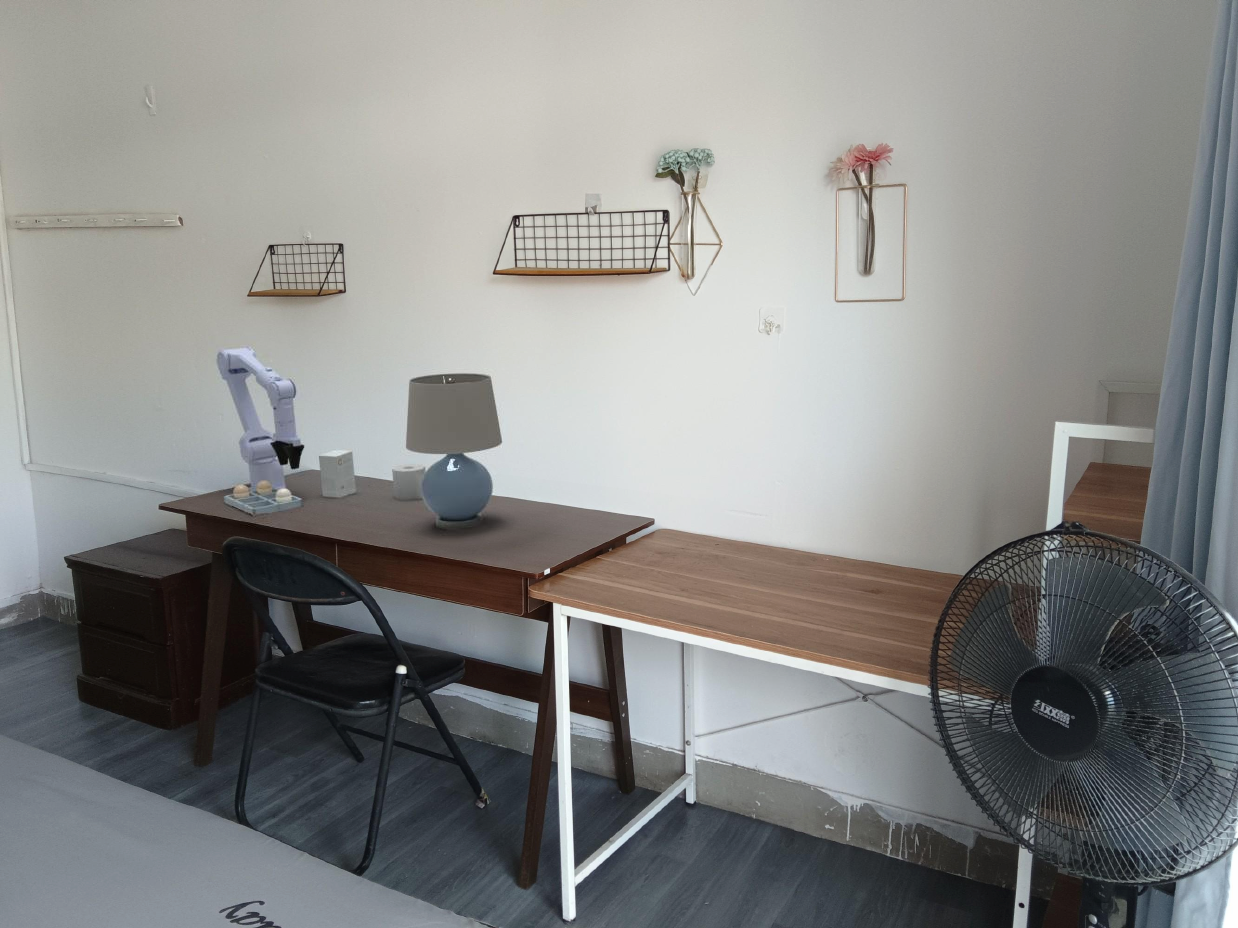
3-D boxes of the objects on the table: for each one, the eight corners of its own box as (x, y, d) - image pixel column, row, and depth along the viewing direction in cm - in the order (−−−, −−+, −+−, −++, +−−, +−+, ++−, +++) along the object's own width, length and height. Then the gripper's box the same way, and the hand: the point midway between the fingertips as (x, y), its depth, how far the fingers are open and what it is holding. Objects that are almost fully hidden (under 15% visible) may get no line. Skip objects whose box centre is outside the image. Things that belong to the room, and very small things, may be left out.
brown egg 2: (269, 495, 279) (267, 478, 278) (275, 497, 276) (273, 480, 275) (255, 498, 276) (253, 480, 275) (261, 500, 273) (259, 483, 272)
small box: (339, 491, 284) (335, 449, 281) (356, 492, 282) (353, 450, 279) (322, 498, 277) (318, 455, 274) (340, 499, 275) (336, 456, 272)
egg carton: (272, 494, 282) (271, 486, 281) (303, 507, 266) (302, 499, 266) (224, 504, 272) (223, 496, 271) (253, 518, 257) (252, 509, 256)
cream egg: (288, 503, 269) (287, 485, 268) (294, 506, 266) (293, 488, 265) (274, 506, 267) (272, 488, 265) (280, 509, 263) (278, 491, 262)
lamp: (405, 517, 255) (394, 375, 246) (494, 506, 263) (487, 369, 254) (419, 542, 232) (408, 387, 223) (516, 530, 240) (509, 380, 232)
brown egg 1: (246, 499, 275) (244, 482, 273) (252, 502, 272) (250, 484, 270) (232, 502, 272) (230, 484, 271) (238, 505, 269) (235, 487, 268)
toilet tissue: (440, 497, 275) (438, 468, 273) (394, 501, 272) (392, 472, 270) (439, 490, 283) (437, 462, 281) (394, 493, 280) (392, 465, 278)
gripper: (261, 420, 275) (266, 465, 278) (282, 426, 265) (286, 472, 268) (284, 417, 280) (288, 461, 283) (305, 422, 270) (310, 468, 273)
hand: (289, 466), depth 276 cm, fingers open, 7 cm apart
